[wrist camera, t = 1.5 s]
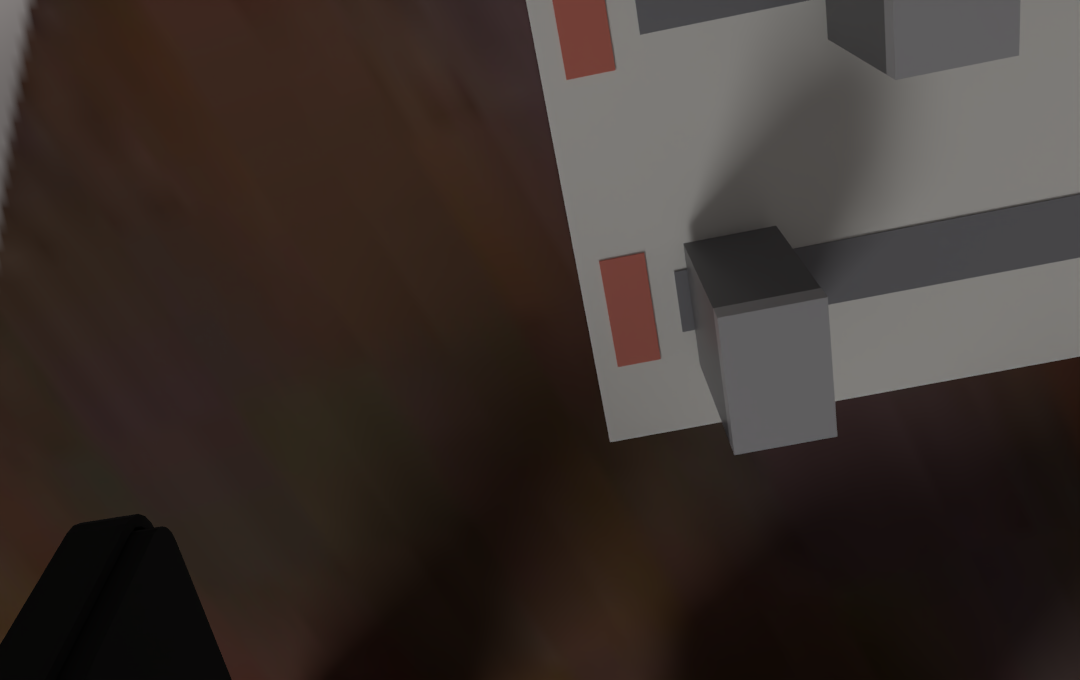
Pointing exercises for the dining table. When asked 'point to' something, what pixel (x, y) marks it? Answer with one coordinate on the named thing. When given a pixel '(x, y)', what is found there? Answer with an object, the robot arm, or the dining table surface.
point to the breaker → (762, 339)
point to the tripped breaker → (924, 33)
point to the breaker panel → (812, 190)
